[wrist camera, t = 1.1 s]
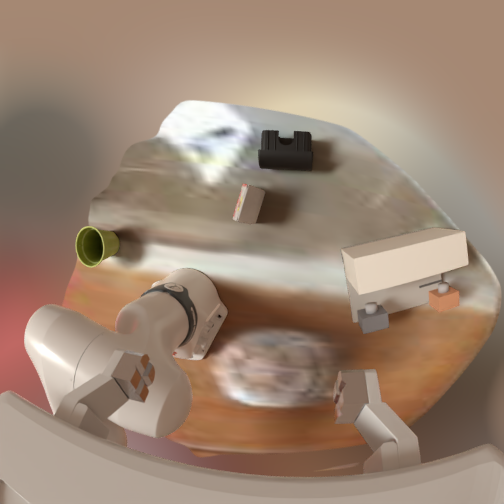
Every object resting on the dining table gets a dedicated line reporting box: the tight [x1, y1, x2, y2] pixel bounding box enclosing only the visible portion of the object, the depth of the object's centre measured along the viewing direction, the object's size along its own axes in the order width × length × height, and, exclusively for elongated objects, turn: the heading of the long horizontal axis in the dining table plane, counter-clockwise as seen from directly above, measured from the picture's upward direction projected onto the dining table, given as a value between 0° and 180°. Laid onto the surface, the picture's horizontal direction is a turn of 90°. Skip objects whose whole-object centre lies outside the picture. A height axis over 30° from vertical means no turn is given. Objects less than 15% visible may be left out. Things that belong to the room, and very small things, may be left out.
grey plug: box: [357, 302, 389, 334], centre depth 49 cm, size 4×5×5 cm
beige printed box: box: [233, 184, 265, 224], centre depth 53 cm, size 4×7×10 cm, turn 163°
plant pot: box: [76, 226, 120, 267], centre depth 61 cm, size 9×9×9 cm
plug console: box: [341, 227, 468, 323], centre depth 48 cm, size 16×22×14 cm
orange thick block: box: [429, 282, 459, 312], centre depth 46 cm, size 4×5×5 cm
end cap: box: [258, 130, 313, 171], centre depth 52 cm, size 10×7×7 cm
